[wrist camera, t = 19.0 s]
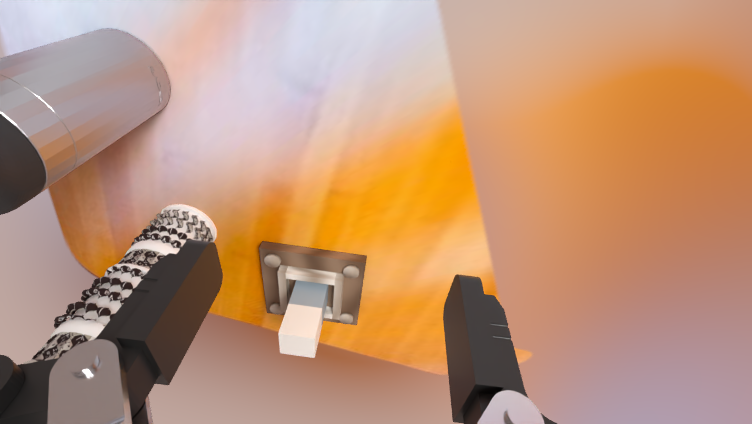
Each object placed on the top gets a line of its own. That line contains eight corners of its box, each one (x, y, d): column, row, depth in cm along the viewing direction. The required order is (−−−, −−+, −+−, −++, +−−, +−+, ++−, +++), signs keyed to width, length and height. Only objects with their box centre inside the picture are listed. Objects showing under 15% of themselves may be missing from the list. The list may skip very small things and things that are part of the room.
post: (297, 297, 59) (280, 353, 51) (297, 277, 55) (278, 333, 48) (327, 301, 59) (314, 357, 51) (328, 282, 56) (314, 338, 48)
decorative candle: (176, 190, 48) (16, 361, 29) (231, 230, 52) (123, 405, 33) (146, 221, 53) (-13, 389, 33) (199, 256, 57) (86, 425, 37)
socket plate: (269, 305, 63) (264, 319, 61) (262, 241, 53) (255, 255, 51) (357, 317, 63) (355, 332, 61) (366, 255, 53) (364, 270, 51)
